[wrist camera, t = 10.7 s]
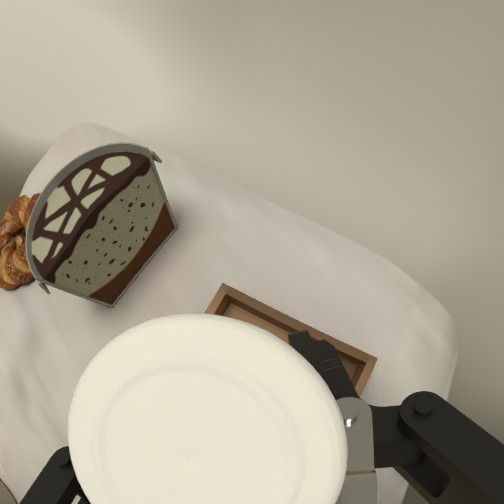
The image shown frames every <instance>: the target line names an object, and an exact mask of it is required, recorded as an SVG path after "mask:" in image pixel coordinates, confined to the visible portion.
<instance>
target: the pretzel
mask: <svg viewBox="0 0 504 504" xmlns="http://www.w3.org/2000/svg"><path fill="white" fill-rule="evenodd" d="M40 194H41V193H39V194H38V193H37V194H35V195H33V196H32V197H31V198H29V197H27V196H26V195H23V196H21V197H18V198H17V199H15V200H14V201H12V202H11V203H10V204H9V206H8V208H7V209H6V213H5V216H4V219H2V220H1V221H0V288H3V289H13V288H16V287H18V286H19V285H20V284H21V283H29V282H30V281H32V280H33V279H34V276H33V274H32V272H31V270H30V267H29V264H28V261H27V256H26V232H27V226H28V222H29V219H30V216H31V213H32V210H33V208H34V206H35V204H36V202H37V200H38V198H39V196H40Z"/></svg>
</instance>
